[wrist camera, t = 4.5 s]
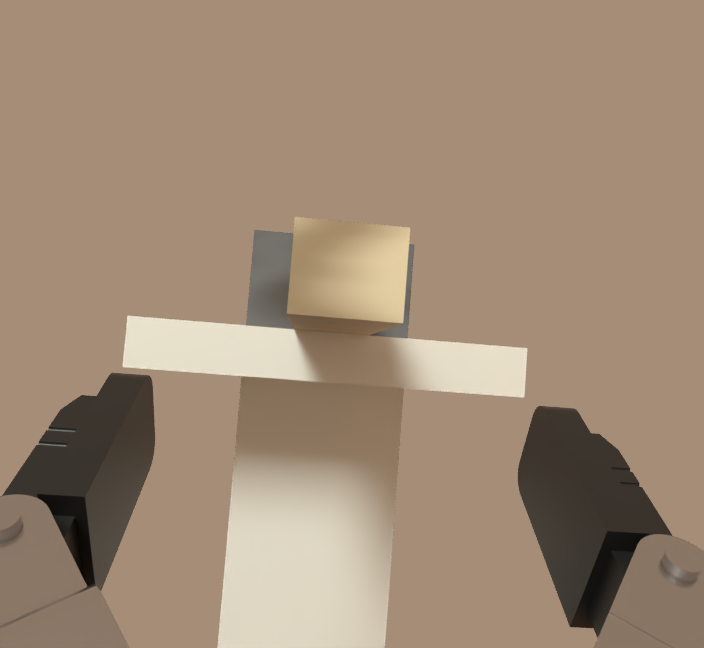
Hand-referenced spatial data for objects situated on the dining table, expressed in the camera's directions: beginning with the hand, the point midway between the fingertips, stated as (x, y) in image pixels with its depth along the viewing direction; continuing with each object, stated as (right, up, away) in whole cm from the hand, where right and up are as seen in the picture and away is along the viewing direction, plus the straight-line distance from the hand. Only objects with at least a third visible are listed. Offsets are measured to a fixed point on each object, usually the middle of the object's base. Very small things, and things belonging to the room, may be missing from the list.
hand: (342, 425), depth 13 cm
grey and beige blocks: (-1, +2, +14) cm, 14 cm away
